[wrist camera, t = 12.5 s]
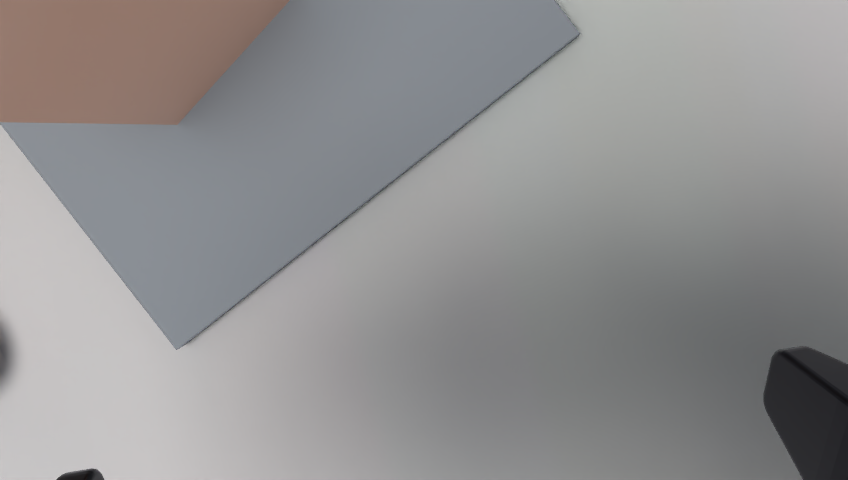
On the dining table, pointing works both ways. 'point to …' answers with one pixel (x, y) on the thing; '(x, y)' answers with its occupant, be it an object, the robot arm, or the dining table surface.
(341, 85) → the mat
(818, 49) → the dining table surface
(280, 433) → the dining table surface
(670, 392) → the dining table surface
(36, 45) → the tall salmon pink box
